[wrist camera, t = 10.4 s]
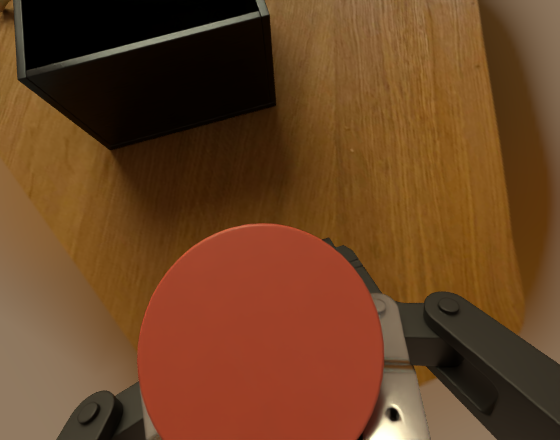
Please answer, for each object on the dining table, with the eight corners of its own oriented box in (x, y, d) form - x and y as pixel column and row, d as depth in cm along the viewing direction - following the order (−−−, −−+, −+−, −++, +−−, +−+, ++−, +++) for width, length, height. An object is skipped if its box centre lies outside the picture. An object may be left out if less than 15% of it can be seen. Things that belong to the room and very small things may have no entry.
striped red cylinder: (247, 362, 16) (152, 542, 5) (228, 277, 18) (115, 254, 6) (330, 337, 17) (433, 451, 5) (305, 254, 18) (341, 191, 6)
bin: (110, 150, 27) (16, 79, 18) (93, 32, 31) (8, -77, 22) (276, 105, 28) (269, 14, 19) (240, -5, 32) (220, -128, 22)
